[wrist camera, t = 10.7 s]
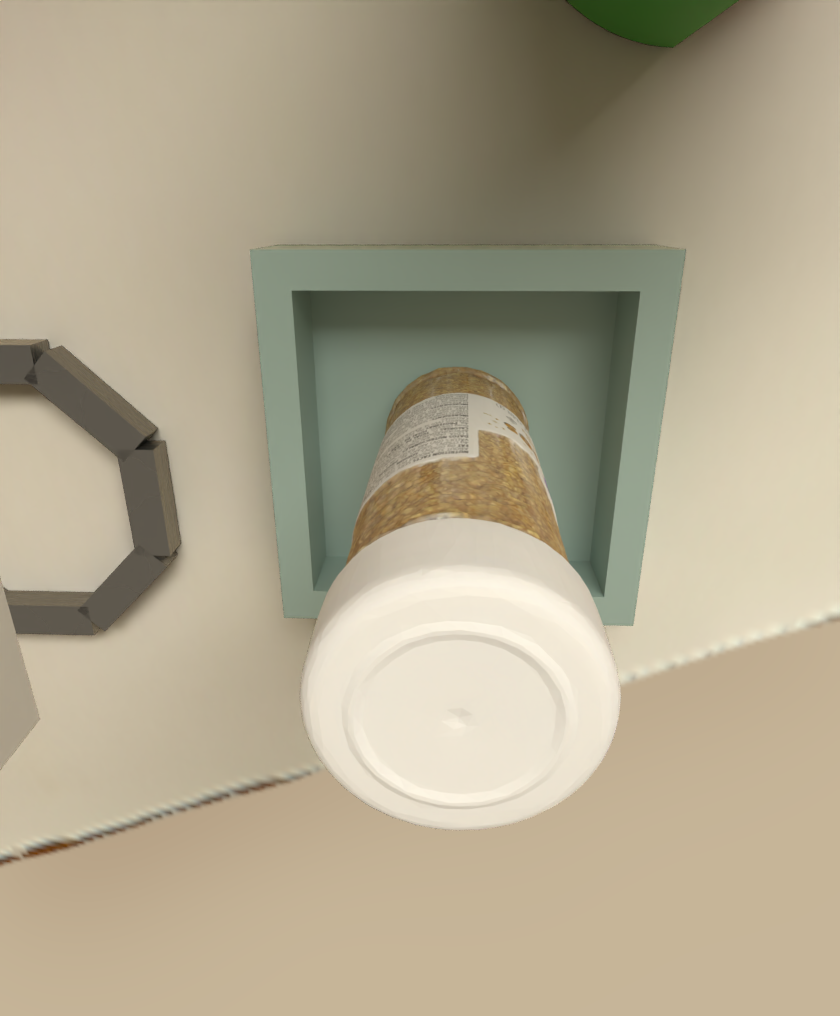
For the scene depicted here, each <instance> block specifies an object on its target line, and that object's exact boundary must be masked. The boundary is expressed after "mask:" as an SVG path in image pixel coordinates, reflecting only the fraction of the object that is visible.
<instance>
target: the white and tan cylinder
mask: <svg viewBox="0 0 840 1016" xmlns="http://www.w3.org/2000/svg"><path fill="white" fill-rule="evenodd" d="M620 700H621V694H620V682H619V677H618V671H617V667H616V664H615V660H614V657H613V654H612V650H611V647H610V644H609V641H608V638H607V635H606V632H605V629H604V626H603V624H602V621H601V618H600V615H599V613H598V610H597V607H596V605H595V603H594V600H593V598H592V596H591V594H590V591H589V589H588V588H587V586H586V585H585V583H584V581H583V580H582V578H581V577H580V575H579V574H578V573H577V572H576V571H575V569H574V568H573V567H572V566H571V565H570V564H569V561H568V559H567V555H566V552H565V548H564V545H563V542H562V539H561V536H560V533H559V528H558V523H557V519H556V514H555V510H554V506H553V502H552V499H551V497H550V494H549V490H548V487H547V484H546V481H545V478H544V475H543V472H542V469H541V466H540V462H539V459H538V456H537V453H536V450H535V447H534V444H533V441H532V439H531V437H530V435H529V426H528V420H527V417H526V414H525V411H524V409H523V407H522V405H521V403H520V401H519V400H518V398H517V397H516V396H515V394H514V393H513V392H512V391H511V390H510V389H509V387H508V386H507V385H506V384H504V383H503V382H502V381H501V380H500V379H498V378H496V377H494V376H492V375H490V374H489V373H486V372H484V371H482V370H476V369H472V368H469V367H444V368H438V369H435V370H433V371H431V372H429V373H427V374H424V375H422V376H420V377H418V378H417V379H415V380H414V381H413V382H411V383H410V384H408V385H407V386H406V388H405V389H404V390H403V391H402V392H401V393H400V394H399V395H398V397H397V398H396V399H395V401H394V404H393V406H392V409H391V411H390V413H389V416H388V418H387V424H386V430H385V436H384V438H383V440H382V443H381V446H380V449H379V452H378V455H377V457H376V460H375V463H374V466H373V469H372V472H371V475H370V478H369V481H368V484H367V488H366V491H365V494H364V497H363V500H362V504H361V507H360V510H359V513H358V516H357V519H356V523H355V526H354V530H353V535H352V546H351V549H350V552H349V555H348V558H347V562H346V566H345V567H344V569H343V570H342V571H341V572H340V573H339V574H338V576H337V577H336V579H335V580H334V582H333V583H332V585H331V587H330V589H329V590H328V592H327V594H326V597H325V599H324V602H323V605H322V607H321V610H320V612H319V615H318V618H317V621H316V624H315V627H314V630H313V633H312V636H311V640H310V644H309V647H308V651H307V655H306V658H305V662H304V666H303V669H302V676H301V686H300V702H301V712H302V719H303V723H304V727H305V730H306V733H307V735H308V738H309V740H310V742H311V745H312V747H313V749H314V750H315V752H316V754H317V756H318V758H319V759H320V761H321V762H322V763H323V765H324V766H325V767H326V769H327V770H328V771H329V773H330V774H331V775H332V776H333V777H334V778H335V779H336V780H337V781H338V782H339V783H340V784H341V785H342V786H343V787H344V788H345V789H346V790H348V791H349V792H350V793H352V794H353V795H354V796H356V797H357V798H358V799H360V800H361V801H363V802H364V803H365V804H367V805H369V806H370V807H372V808H374V809H376V810H378V811H380V812H383V813H384V814H386V815H389V816H391V817H393V818H396V819H399V820H402V821H406V822H408V823H411V824H415V825H419V826H424V827H429V828H436V829H444V830H481V829H489V828H496V827H501V826H505V825H510V824H514V823H517V822H520V821H522V820H525V819H528V818H531V817H533V816H535V815H538V814H540V813H542V812H544V811H546V810H548V809H550V808H552V807H553V806H555V805H557V804H559V803H560V802H562V801H563V800H565V799H566V798H568V797H569V796H571V795H572V794H573V793H574V792H575V791H576V790H577V789H579V788H580V787H581V786H582V785H583V784H584V783H585V782H586V781H587V780H588V779H589V778H590V776H591V775H592V774H593V772H594V771H595V770H596V769H597V767H598V766H599V765H600V763H601V762H602V760H603V759H604V757H605V755H606V753H607V751H608V749H609V747H610V744H611V742H612V740H613V737H614V734H615V731H616V727H617V723H618V717H619V709H620Z"/></svg>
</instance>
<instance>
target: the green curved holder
mask: <svg viewBox="0 0 840 1016" xmlns="http://www.w3.org/2000/svg"><path fill="white" fill-rule="evenodd" d="M566 1H568V2H569V3H570V4H571V5H572V6H573V7H574V8H575V9H576V10H578V11H579V12H580V13H581V14H583V15H584V16H585V17H587V18H588V19H590V20H591V21H593V22H594V23H596V24H597V25H599V26H601V27H602V28H604V29H606V30H608V31H610V32H612V33H614V34H617V35H619V36H621V37H624V38H627V39H629V40H632V41H636V42H640V43H643V44H648V45H654V46H659V47H671V48H673V47H674V46H676V45H677V44H679V43H680V42H681V41H683V40H684V39H686V38H687V37H688V36H690V35H691V34H693V33H694V32H695V31H697V30H698V29H700V28H701V27H702V26H704V25H705V24H707V23H708V22H709V21H711V20H712V19H714V18H715V17H716V16H718V15H719V14H721V13H722V12H723V11H725V10H726V9H728V8H729V7H730V6H732V5H733V4H734V3H736V2H737V1H739V0H566Z"/></svg>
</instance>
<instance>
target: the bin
mask: <svg viewBox="0 0 840 1016" xmlns="http://www.w3.org/2000/svg"><path fill="white" fill-rule="evenodd" d="M685 254H686V249H679V248H672V247H665V246H658V245H275V246H269V247H263V248H257V249H251V250H250V257H251V268H252V278H253V289H254V300H255V311H256V321H257V332H258V343H259V354H260V364H261V375H262V386H263V396H264V407H265V418H266V429H267V439H268V450H269V461H270V472H271V482H272V493H273V504H274V515H275V525H276V536H277V547H278V558H279V568H280V579H281V590H282V601H283V611H284V618H312V619H317V618H318V615H319V612H320V610H321V607H322V605H323V602H324V599H325V597H326V594H327V592H328V590H329V589H330V587H331V585H332V583H333V582H334V580H335V579H336V577H337V576H338V574H339V573H340V572H341V571H342V570H343V569H344V567H345V566H346V562H347V558H348V555H349V552H350V549H351V546H352V535H353V530H354V526H355V523H356V519H357V516H358V513H359V510H360V507H361V504H362V500H363V497H364V494H365V491H366V488H367V484H368V481H369V478H370V475H371V472H372V469H373V466H374V463H375V460H376V457H377V455H378V452H379V449H380V446H381V443H382V440H383V438H384V436H385V430H386V424H387V418H388V416H389V413H390V411H391V409H392V406H393V404H394V401H395V399H396V398H397V397H398V395H399V394H400V393H401V392H402V391H403V390H404V389H405V388H406V386H407V385H408V384H410V383H411V382H413V381H414V380H415V379H417V378H418V377H420V376H422V375H424V374H427V373H429V372H431V371H433V370H435V369H438V368H444V367H469V368H472V369H476V370H482V371H484V372H486V373H489V374H490V375H492V376H494V377H496V378H498V379H500V380H501V381H502V382H503V383H504V384H506V385H507V386H508V387H509V389H510V390H511V391H512V392H513V393H514V394H515V396H516V397H517V398H518V400H519V401H520V403H521V405H522V407H523V409H524V411H525V414H526V417H527V420H528V426H529V435H530V437H531V439H532V441H533V444H534V447H535V450H536V453H537V456H538V459H539V462H540V466H541V469H542V472H543V475H544V478H545V481H546V484H547V487H548V490H549V494H550V497H551V499H552V502H553V506H554V510H555V514H556V519H557V523H558V528H559V533H560V536H561V539H562V542H563V545H564V548H565V552H566V555H567V559H568V561H569V564H570V565H571V566H572V567H573V568H574V569H575V571H576V572H577V573H578V574H579V575H580V577H581V578H582V580H583V581H584V583H585V585H586V586H587V588H588V589H589V591H590V594H591V596H592V598H593V600H594V603H595V605H596V607H597V610H598V613H599V615H600V618H601V621H602V624H603V625H619V626H633V624H634V616H635V609H636V602H637V595H638V588H639V581H640V574H641V567H642V560H643V553H644V545H645V538H646V531H647V524H648V517H649V510H650V503H651V496H652V489H653V481H654V474H655V467H656V460H657V453H658V446H659V439H660V432H661V425H662V417H663V410H664V403H665V396H666V389H667V382H668V375H669V368H670V361H671V354H672V346H673V339H674V332H675V325H676V318H677V311H678V304H679V297H680V290H681V282H682V275H683V268H684V261H685Z"/></svg>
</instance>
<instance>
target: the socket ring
mask: <svg viewBox="0 0 840 1016" xmlns="http://www.w3.org/2000/svg"><path fill="white" fill-rule="evenodd" d="M0 384H31V385H32V386H33V387H34V388H36V389H37V390H38V391H39V392H40V393H42V394H43V395H44V396H45V397H46V398H48V399H49V400H50V401H51V402H52V403H54V404H55V405H56V406H57V407H58V408H60V409H61V410H62V411H63V412H64V413H66V414H67V415H68V416H69V417H70V418H72V419H73V420H74V421H75V422H76V423H78V424H79V425H80V426H81V427H82V428H84V429H85V430H86V431H87V432H88V433H90V434H91V435H92V436H93V437H94V438H96V439H97V440H98V441H99V442H100V443H102V444H103V445H104V446H105V447H106V448H108V449H109V450H110V451H111V452H112V453H114V454H115V455H116V456H117V457H118V461H119V466H120V472H121V477H122V483H123V488H124V493H125V499H126V504H127V510H128V515H129V521H130V526H131V531H132V537H133V542H134V548H135V549H134V550H133V551H132V552H131V553H130V554H129V555H128V557H127V558H126V559H125V560H124V561H123V562H122V563H121V564H120V565H119V566H118V567H117V568H116V569H115V571H114V572H113V573H112V574H111V575H110V576H109V577H108V578H107V579H106V580H105V581H104V582H103V583H102V585H101V586H100V587H99V588H98V589H97V590H96V591H95V592H49V591H7V590H6V589H5V588H3V589H4V592H5V596H6V600H7V603H8V607H9V610H10V614H11V617H12V621H13V624H14V628H15V632H16V633H18V634H59V635H95V634H96V633H97V631H98V630H99V629H100V628H101V629H102V630H104V631H106V630H107V629H108V628H109V626H110V625H111V624H112V623H113V622H114V621H115V620H116V619H117V618H118V617H119V616H120V615H121V614H122V613H123V612H124V611H125V610H126V609H127V608H128V607H129V606H130V605H131V604H132V603H133V602H134V601H135V600H136V599H137V597H138V596H139V595H140V594H141V593H142V592H143V591H144V590H145V589H146V588H147V587H148V586H149V585H150V584H151V583H152V582H153V581H154V580H155V579H156V578H157V577H158V576H159V575H160V574H161V573H162V572H163V571H164V570H165V568H166V567H167V566H168V565H169V564H170V563H171V561H172V560H173V559H174V558H175V556H176V555H177V553H176V552H175V550H176V549H177V547H178V546H179V545H180V544H181V540H180V533H179V527H178V520H177V514H176V507H175V501H174V494H173V488H172V481H171V475H170V468H169V462H168V455H167V449H166V443H165V441H151V440H148V439H149V438H150V437H151V435H152V434H153V433H154V432H155V431H156V430H157V429H158V428H157V427H156V426H155V425H154V424H152V423H151V422H150V421H149V420H148V419H147V418H146V417H144V416H143V415H142V414H141V413H140V412H139V411H137V410H136V409H135V408H134V407H133V406H132V405H130V404H129V403H128V402H127V401H126V400H125V399H123V398H122V397H121V396H120V395H119V394H118V393H116V392H115V391H114V390H113V389H112V388H111V387H109V386H108V385H107V384H106V383H105V382H104V381H103V380H101V379H100V378H99V377H98V376H97V375H96V374H94V373H93V372H92V371H91V370H90V369H89V368H87V367H86V366H85V365H84V364H83V363H82V362H80V361H79V360H78V359H77V358H76V357H75V356H73V355H72V354H71V353H70V352H69V351H68V350H66V349H65V348H64V347H63V346H59V347H56V348H53V349H49V345H48V340H19V339H0Z"/></svg>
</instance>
